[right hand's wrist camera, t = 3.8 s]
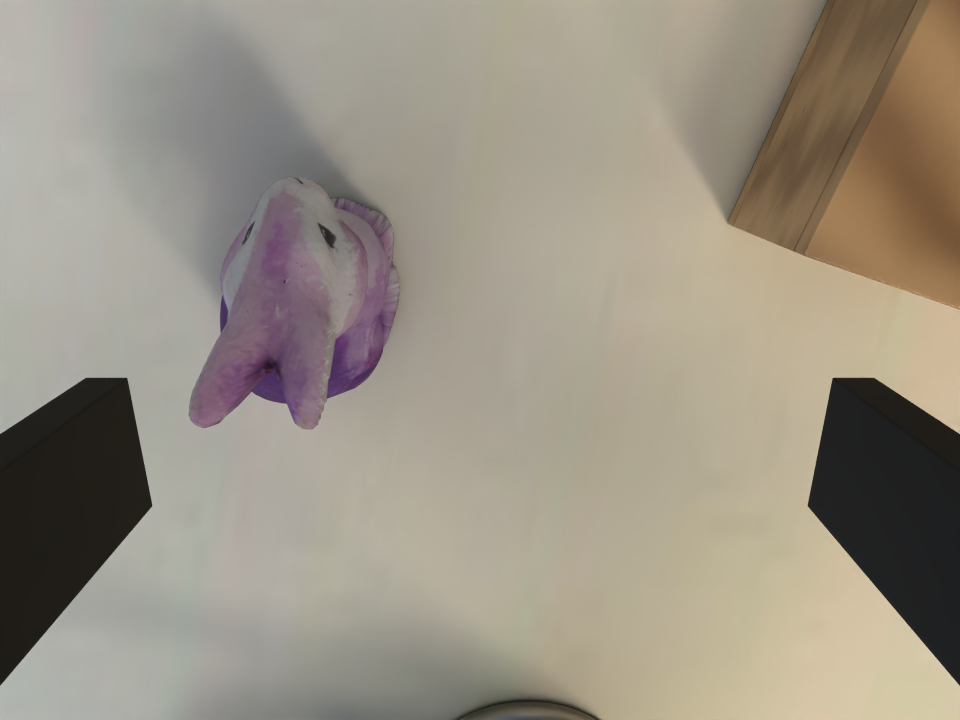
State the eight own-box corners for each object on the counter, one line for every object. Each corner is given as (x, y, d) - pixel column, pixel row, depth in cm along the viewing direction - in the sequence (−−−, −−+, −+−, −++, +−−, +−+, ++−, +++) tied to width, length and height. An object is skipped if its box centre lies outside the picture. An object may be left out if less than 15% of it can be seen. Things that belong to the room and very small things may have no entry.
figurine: (367, 149, 33) (283, 172, 19) (444, 334, 36) (421, 472, 22) (199, 218, 34) (-2, 287, 20) (287, 390, 37) (170, 556, 23)
